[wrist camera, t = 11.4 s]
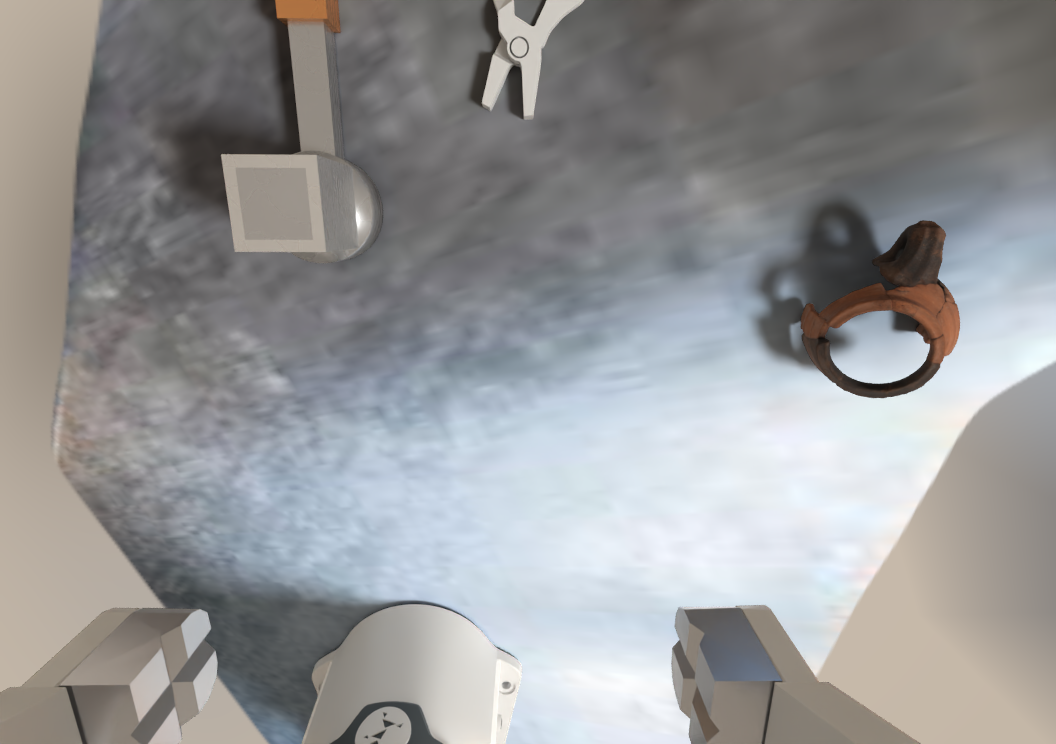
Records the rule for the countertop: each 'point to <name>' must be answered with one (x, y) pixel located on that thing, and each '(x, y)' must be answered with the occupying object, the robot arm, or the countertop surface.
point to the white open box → (290, 203)
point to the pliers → (522, 49)
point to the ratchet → (325, 110)
